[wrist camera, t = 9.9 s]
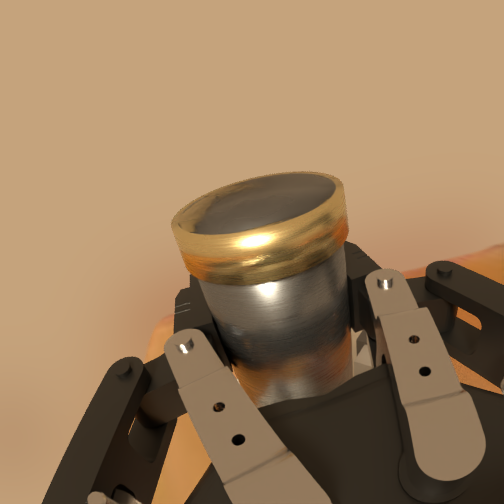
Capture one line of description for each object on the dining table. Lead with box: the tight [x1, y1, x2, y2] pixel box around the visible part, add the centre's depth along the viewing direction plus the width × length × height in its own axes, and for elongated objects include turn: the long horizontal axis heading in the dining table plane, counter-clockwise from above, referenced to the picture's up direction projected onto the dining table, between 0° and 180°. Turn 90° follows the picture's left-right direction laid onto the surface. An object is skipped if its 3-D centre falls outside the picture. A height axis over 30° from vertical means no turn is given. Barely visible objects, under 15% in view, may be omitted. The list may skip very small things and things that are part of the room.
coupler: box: [171, 172, 353, 408], centre depth 11 cm, size 5×5×10 cm
